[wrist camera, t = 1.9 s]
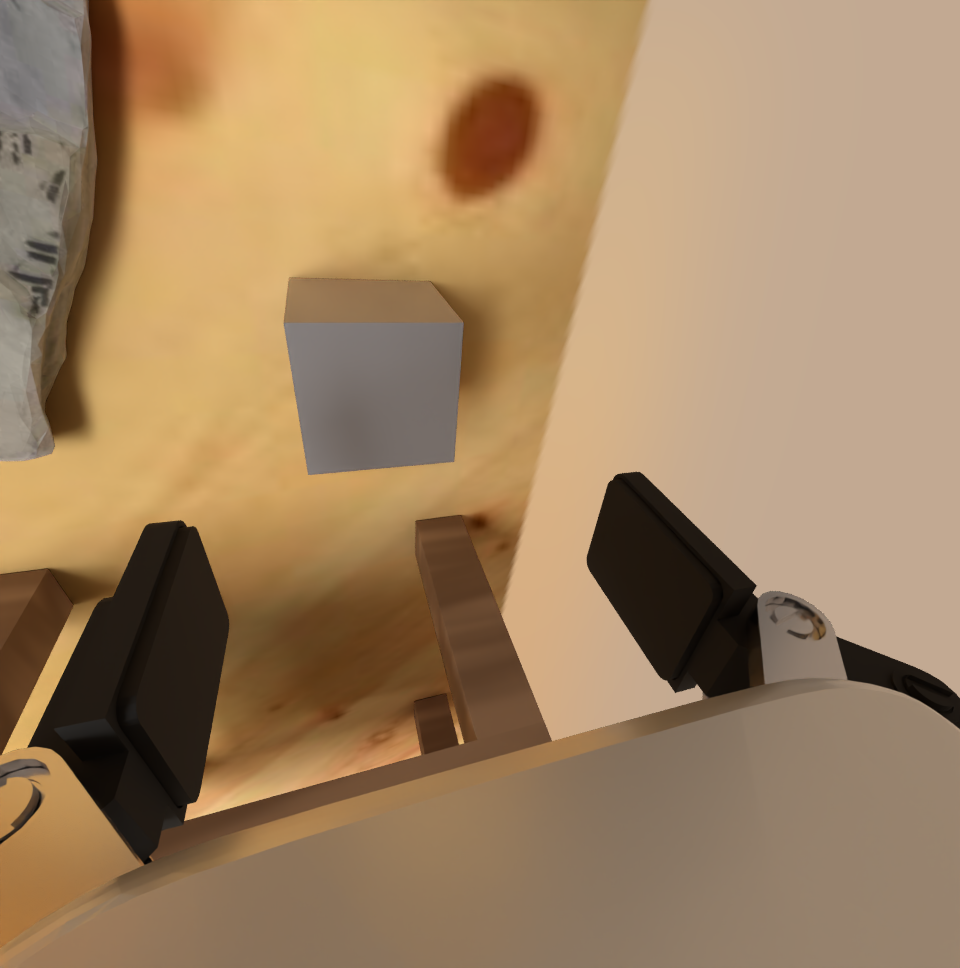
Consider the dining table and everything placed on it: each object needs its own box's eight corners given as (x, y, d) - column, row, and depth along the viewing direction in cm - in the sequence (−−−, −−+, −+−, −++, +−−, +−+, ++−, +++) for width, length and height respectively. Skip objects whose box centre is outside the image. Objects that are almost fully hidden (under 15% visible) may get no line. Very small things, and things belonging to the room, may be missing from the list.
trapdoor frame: (-26, 578, 19) (-351, 1021, 10) (460, 515, 25) (555, 750, 16) (147, 784, 31) (80, 1066, 22) (444, 709, 37) (491, 905, 28)
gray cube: (289, 277, 16) (283, 322, 12) (429, 280, 17) (463, 322, 14) (307, 405, 19) (308, 474, 15) (426, 400, 20) (454, 461, 17)
